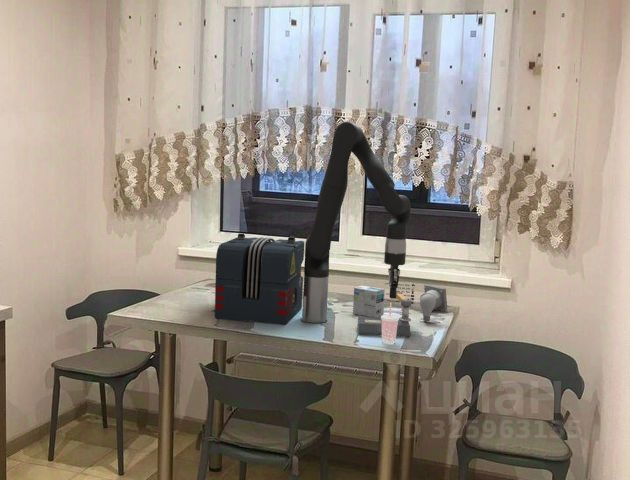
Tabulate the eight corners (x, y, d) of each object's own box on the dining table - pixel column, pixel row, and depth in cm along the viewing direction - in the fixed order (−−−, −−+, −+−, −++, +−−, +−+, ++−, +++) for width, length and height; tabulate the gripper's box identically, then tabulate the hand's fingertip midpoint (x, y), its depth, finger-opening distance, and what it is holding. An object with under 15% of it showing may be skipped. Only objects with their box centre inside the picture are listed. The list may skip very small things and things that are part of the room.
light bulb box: (383, 315, 268) (385, 288, 266) (375, 318, 262) (377, 291, 261) (360, 310, 274) (362, 284, 272) (352, 313, 268) (353, 287, 267)
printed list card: (447, 308, 285) (448, 285, 283) (447, 314, 274) (449, 290, 272) (384, 303, 289) (385, 280, 288) (382, 309, 278) (383, 285, 277)
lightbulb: (426, 324, 255) (428, 296, 254) (415, 321, 260) (416, 293, 259) (437, 323, 259) (439, 295, 258) (426, 319, 264) (428, 291, 262)
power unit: (286, 325, 247) (289, 244, 243) (214, 318, 252) (216, 239, 248) (302, 308, 274) (305, 235, 270) (237, 302, 279) (239, 230, 275)
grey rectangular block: (358, 334, 238) (359, 308, 237) (357, 327, 248) (358, 302, 247) (412, 337, 238) (413, 311, 237) (409, 329, 248) (410, 304, 247)
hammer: (393, 298, 257) (393, 291, 256) (402, 298, 257) (402, 292, 257) (402, 307, 242) (402, 300, 242) (412, 307, 243) (412, 300, 242)
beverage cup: (396, 345, 227) (399, 305, 225) (378, 344, 228) (381, 303, 226) (397, 340, 233) (400, 301, 231) (380, 339, 234) (382, 299, 232)
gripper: (383, 247, 248) (380, 293, 251) (386, 253, 235) (383, 301, 237) (403, 248, 248) (401, 294, 250) (407, 254, 235) (404, 302, 237)
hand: (392, 298), depth 244 cm, fingers closed
